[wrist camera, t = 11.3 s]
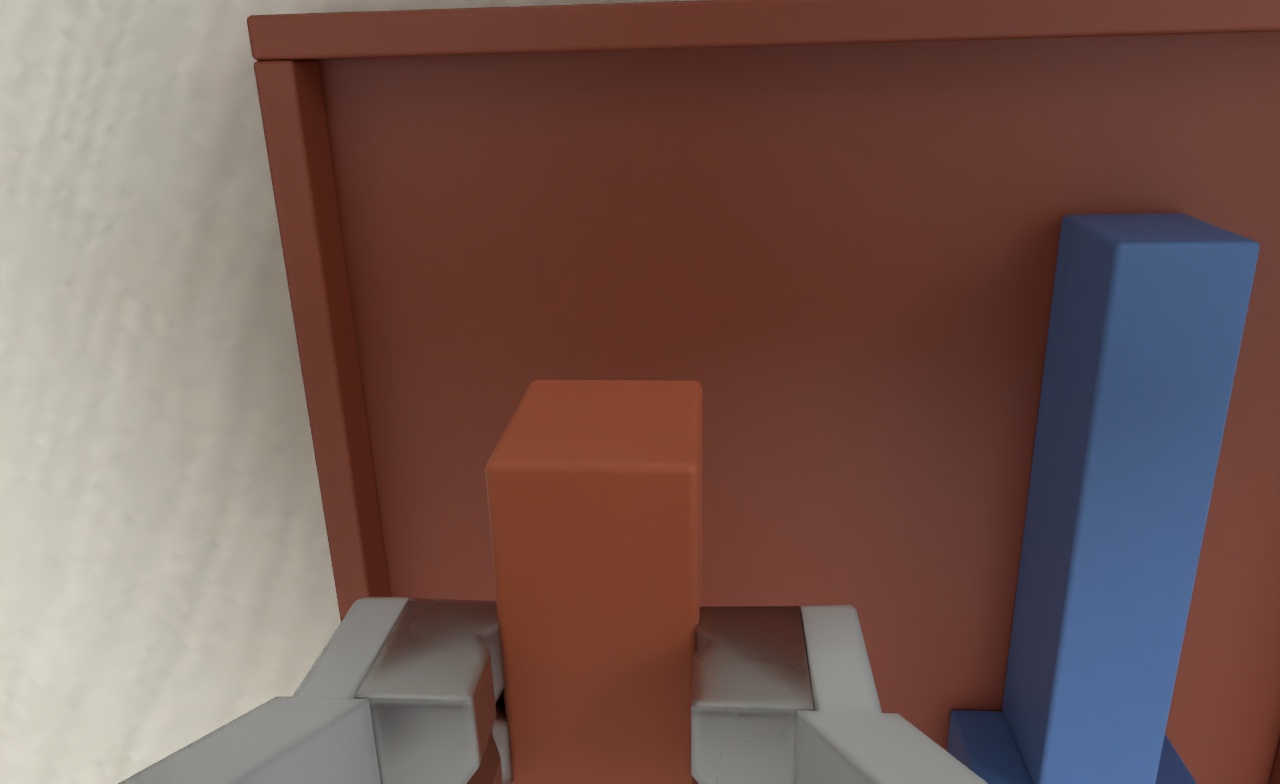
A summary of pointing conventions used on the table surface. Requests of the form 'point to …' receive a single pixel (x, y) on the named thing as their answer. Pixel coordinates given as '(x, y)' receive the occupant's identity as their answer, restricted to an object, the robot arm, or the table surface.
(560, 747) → the rust stepped bar
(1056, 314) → the blue stepped bar
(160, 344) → the table surface
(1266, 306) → the rust tray
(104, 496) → the table surface
